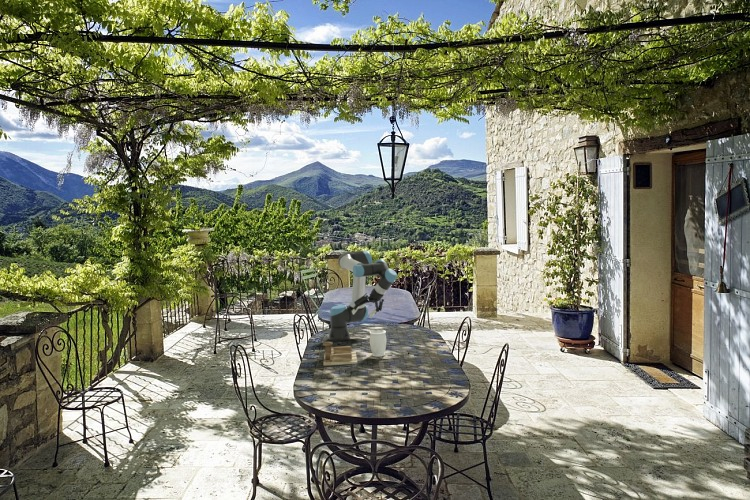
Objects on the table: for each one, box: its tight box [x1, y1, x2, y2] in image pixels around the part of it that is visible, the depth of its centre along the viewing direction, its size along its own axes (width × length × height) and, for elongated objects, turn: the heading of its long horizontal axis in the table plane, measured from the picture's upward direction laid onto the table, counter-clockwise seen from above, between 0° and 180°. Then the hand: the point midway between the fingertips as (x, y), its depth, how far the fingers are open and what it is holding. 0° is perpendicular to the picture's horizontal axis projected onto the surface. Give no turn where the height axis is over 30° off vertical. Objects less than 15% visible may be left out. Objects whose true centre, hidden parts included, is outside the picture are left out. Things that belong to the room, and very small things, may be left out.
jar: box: [369, 329, 387, 358], centre depth 330 cm, size 11×10×15 cm
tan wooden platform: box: [322, 341, 358, 367], centre depth 324 cm, size 22×20×12 cm
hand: (361, 315), depth 332 cm, fingers open, 13 cm apart
